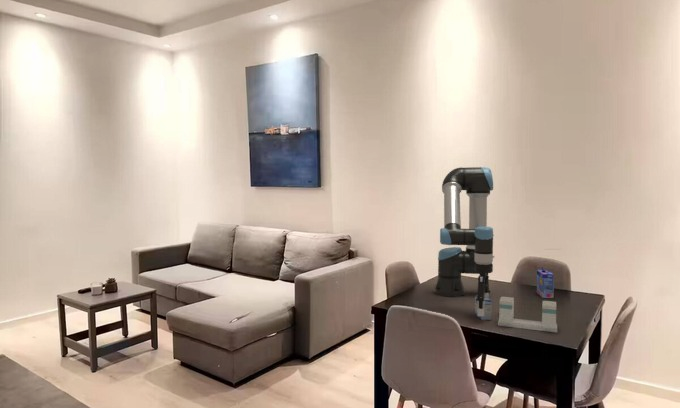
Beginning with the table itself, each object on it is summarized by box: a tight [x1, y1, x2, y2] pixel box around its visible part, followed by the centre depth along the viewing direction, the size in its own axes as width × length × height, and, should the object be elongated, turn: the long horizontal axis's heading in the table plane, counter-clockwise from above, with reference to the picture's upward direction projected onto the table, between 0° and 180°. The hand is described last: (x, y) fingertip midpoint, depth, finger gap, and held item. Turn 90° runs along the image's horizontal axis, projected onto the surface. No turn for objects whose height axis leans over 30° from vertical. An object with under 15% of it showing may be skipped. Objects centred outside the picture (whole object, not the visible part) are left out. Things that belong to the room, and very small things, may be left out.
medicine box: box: [474, 295, 493, 321], centre depth 200 cm, size 8×4×9 cm, turn 5°
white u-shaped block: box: [497, 296, 558, 334], centre depth 188 cm, size 22×8×10 cm, turn 66°
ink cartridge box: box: [536, 266, 555, 299], centre depth 233 cm, size 10×6×14 cm, turn 174°
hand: (483, 311), depth 200 cm, fingers open, 13 cm apart
